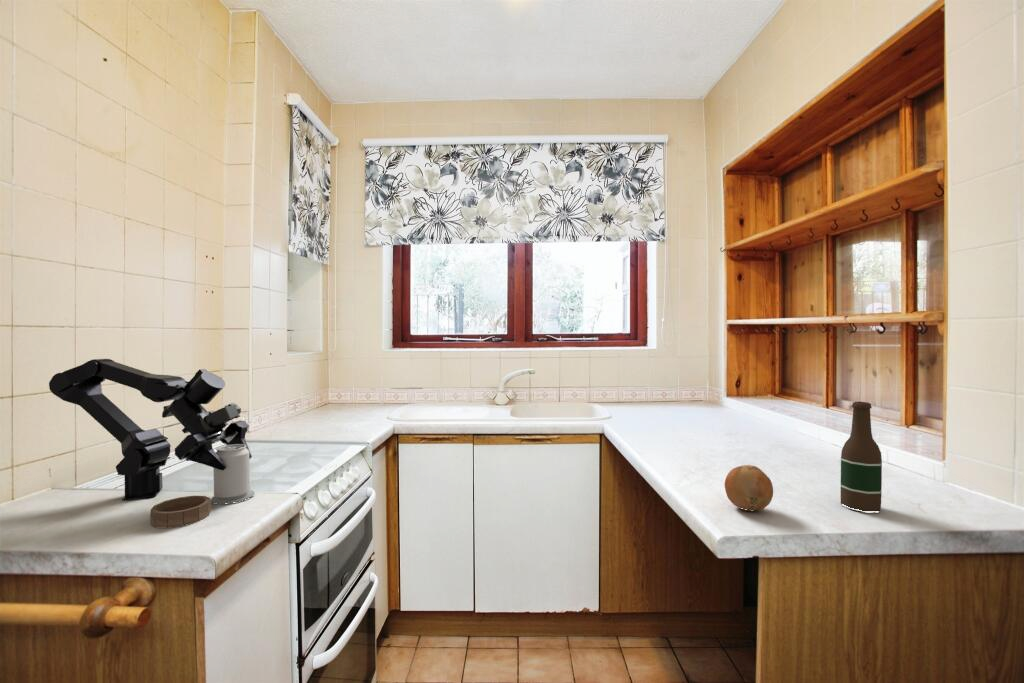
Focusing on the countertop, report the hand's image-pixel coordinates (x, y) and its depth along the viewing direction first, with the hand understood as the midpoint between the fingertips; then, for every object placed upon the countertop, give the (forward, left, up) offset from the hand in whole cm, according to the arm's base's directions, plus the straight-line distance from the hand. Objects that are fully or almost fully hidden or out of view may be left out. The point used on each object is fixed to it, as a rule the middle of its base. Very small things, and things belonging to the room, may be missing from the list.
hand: (238, 463), depth 111 cm
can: (-1, +1, -8) cm, 8 cm away
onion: (+105, -57, -9) cm, 120 cm away
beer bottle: (+129, -67, -9) cm, 146 cm away
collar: (-10, -9, -8) cm, 16 cm away
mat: (-1, +1, -8) cm, 9 cm away
